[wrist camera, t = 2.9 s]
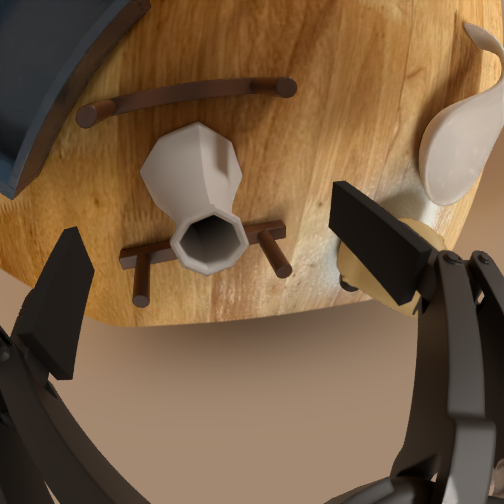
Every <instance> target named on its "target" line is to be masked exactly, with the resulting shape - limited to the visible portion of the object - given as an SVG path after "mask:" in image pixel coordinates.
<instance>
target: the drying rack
mask: <svg viewBox="0 0 504 504" xmlns="http://www.w3.org/2000/svg"><path fill="white" fill-rule="evenodd" d="M296 91H297V84H296V82H295V80H294V79H292V78H291V77H287V76H282V77H253V78H233V79H219V80H209V81H200V82H192V83H184V84H178V85H171V86H165V87H160V88H155V89H149V90H145V91H140V92H135V93H131V94H127V95H123V96H119V97H115V98H111V99H108V100H104V101H100V102H96V103H92V104H88V105H85V106H83V107H81V108H79V110H78V112H77V115H76V121H77V124H78V125H79V126H80V127H82V128H90V127H92V126H94V125H95V124H97V123H99V122H101V121H103V120H104V119H106V118H108V117H110V116H114V115H118V114H122V113H126V112H130V111H134V110H139V109H143V108H148V107H153V106H158V105H163V104H169V103H175V102H181V101H188V100H195V99H202V98H211V97H221V96H232V95H246V94H263V95H270V96H277V97H283V98H290V97H292V96H293V95H294V94H295V93H296ZM243 228H244V231H245V234H246V237H247V240H248V242H249V245H251V244H256V243H259V244H260V246H261V248H262V250H263V251H264V253H265V255H266V257H267V259H268V261H269V262H270V264H271V266H272V268H273V270H274V272H275V273H276V275H277V277H278V278H281V279H283V278H287V277H288V276H290V275H291V273H292V267H291V265H290V264H289V262H288V260H287V259H286V257H285V256H284V254H283V252H282V251H281V249H280V248H279V246H278V245H277V243H276V241H275V240H277V239H283V238H286V226H285V224H284V223H283V222H282V220H278V221H272V222H266V223H260V224H255V225H249V226H244V227H243ZM175 259H178V258H177V256H176V254H175V252H174V251H173V249H172V247H171V245H170V241H165V242H160V243H155V244H150V245H145V246H140V247H136V248H131V249H126V250H121V251H120V255H119V261H120V263H121V266H122V269H123V270H125V269H130V268H135V275H134V286H133V299H132V301H133V304H134V305H135V306H137V307H140V308H144V307H146V306H148V305H149V303H150V264H155V263H160V262H165V261H170V260H175Z"/></svg>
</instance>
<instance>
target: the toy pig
mask: <svg viewBox="0 0 504 504" xmlns="http://www.w3.org/2000/svg"><path fill="white" fill-rule="evenodd" d="M396 219H398V220H400V221H402V222H404V223H406V224H407V225H408V226H410V227H411V228H412V229H413V230H414V231H416V232H417V233H418V234H419V236H422V237H423V238H424V239H425V240H426V241H428V242H429V243H430V244H431V245H432V246H433V247H435V248H436V249H437V250H438V251H440V250H447V248H446V245H445V243H444V239H443V237H442V236H441V235H438V234H437V233H436V232H435V231H434V230H433V229H432V228H431V227H429V226H428V225H426V224H424V223H422V222H420V221H417V220H414V219H410V218H396ZM337 267H338V270H339V272H340V275H339V283H340V285H341V287H342V288H343V289H344V290H346V291H349V292H354V291H357V290H358V289H360V290H361V291H363V292H364V293H366V294H367V295H369V296H371V297H372V298H374V299H376V300H377V301H379V302H381V303H383V304H385V305H387V306H389V307H391V308H393V309H395V310H397V311H399V312H401V313H403V314H406V315H408V316H411V317H418V310H417V311H416V313H415V315H412V313H413V310H414V308H415V306H416V304H417V302H418V300H419V298H420V294H419V293H418V292H417V291H416V292H415V294H414V297H413V299H412V301H411V302H409V303H406V304H404V305H401V306H398V305H397V303H396V302H395V301H394V300H393V299H392V297H391V296H390V295H389V294H388V293H387V291H386V290H385V289H384V288H383V287H382V285H381V284H380V283H379V282H378V281H377V280H376V278H375V277H374V276H373V275H372V274H371V273H370V272H369V270H368V269H367V268H366V267H365V266H364V265H363V264H362V262H361V261H360V260H359V259H358V258H357V257H356V256H355V255H354V254H353V253H352V251H351V250H350V249H349V248H348V247H347V246H346V245H345V244H344V243H343V242H341V245H340V248H339V252H338V257H337Z"/></svg>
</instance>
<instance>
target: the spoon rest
mask: <svg viewBox="0 0 504 504" xmlns="http://www.w3.org/2000/svg"><path fill="white" fill-rule="evenodd" d="M464 28H465V30H466V32H467V33H468V35H469V36H470V38H471V39H472V40H473V42H474V43H475V45H476V46H477V47H478V48H480V49H483V50H486V51H490V52H492V53H494V54H496V55H497V56H498V57H499V58H500V61H501V66H502V72H501V76H500V79H499V80H498V82H497V83H496V84H495V85H494V86H492V87H491V88H489V89H488V90H485V91H483V92H481V93H479V94H476V95H474V96H471V97H469V98H466V99H464V100H461V101H459V102H457V103H454V104H452V105H450V106H448V107H446V108H445V109H443V110H441V111H440V112H439V113H438V114H437V115H436V116H435V117H434V118H433V119H432V120H431V121H430V123H429V124H428V126H427V128H426V130H425V132H424V134H423V137H422V141H421V145H420V150H419V171H420V177H421V182H422V185H423V188H424V191H425V193H426V195H427V196H428V198H429V199H430V200H431V201H432V202H433V203H434V204H436V205H438V206H449V205H452V204H454V203H456V202H457V201H459V200H460V199H461V198H462V197H463V196H464V195H465V194H466V193H467V192H468V191H469V190H470V188H471V187H472V186H473V184H474V183H475V181H476V180H477V178H478V176H479V174H480V173H481V171H482V169H483V167H484V165H485V163H486V161H487V159H488V157H489V154H490V152H491V150H492V148H493V146H494V144H495V142H496V140H497V138H498V136H499V134H500V131H501V129H502V127H503V125H504V48H503V46H502V45H501V43H500V42H499V41H498V40H497V39H496V38H495V37H494V36H493V35H492V34H491V33H489V32H488V31H486V30H485V29H483V28H481V27H479V26H477V25H474V24H470V23H464Z"/></svg>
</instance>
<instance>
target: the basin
mask: <svg viewBox="0 0 504 504" xmlns="http://www.w3.org/2000/svg"><path fill="white" fill-rule="evenodd" d="M150 8H151V3H150V0H0V193H1V194H3V195H5V196H6V197H8V198H9V199H11V200H13V199H14V198H15V197H16V196H17V195H18V194H19V193H20V192H22V191H23V190H24V189H25V188H26V187H27V186H28V185H29V184H30V183H31V182H32V181H33V180H34V179H36V178H37V177H38V176H39V173H40V171H41V169H42V166H43V164H44V162H45V159H46V157H47V155H48V153H49V151H50V149H51V147H52V144H53V142H54V140H55V138H56V136H57V134H58V133H59V131H60V129H61V127H62V125H63V123H64V121H65V120H66V118H67V116H68V114H69V112H70V111H71V109H72V107H73V106H74V104H75V102H76V101H77V99H78V98H79V96H80V94H81V93H82V91H83V90H84V88H85V87H86V85H87V84H88V82H89V81H90V79H91V78H92V76H93V75H94V73H95V72H96V71H97V69H98V68H99V67H100V65H101V64H102V62H103V61H104V60H105V59H106V57H107V56H108V55H109V53H110V52H111V51H112V50H113V48H114V47H115V46H116V45H117V43H118V42H119V41H120V40H121V39H122V38H123V36H124V35H125V34H126V33H127V32H128V31H129V30H130V28H131V27H132V26H133V25H134V24H135V23H136V22H137V21H138V20H139V19H140V18H141V17H142V16H143V15H144V14H145V13H146V12H147V11H148V10H149V9H150Z"/></svg>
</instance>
